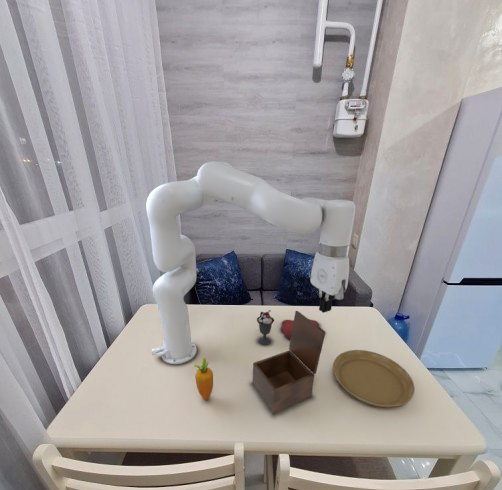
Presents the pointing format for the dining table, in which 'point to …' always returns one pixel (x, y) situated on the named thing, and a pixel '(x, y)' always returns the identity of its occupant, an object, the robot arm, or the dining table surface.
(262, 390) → the container
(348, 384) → the plant saucer
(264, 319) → the sundae
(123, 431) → the dining table surface
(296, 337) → the brown box lid
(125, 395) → the dining table surface
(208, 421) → the dining table surface
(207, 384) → the carrot
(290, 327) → the patty
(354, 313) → the dining table surface
